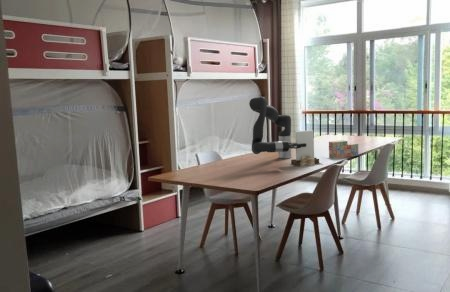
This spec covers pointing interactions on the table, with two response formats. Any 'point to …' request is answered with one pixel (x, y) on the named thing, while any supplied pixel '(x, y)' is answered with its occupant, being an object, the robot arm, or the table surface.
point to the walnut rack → (297, 162)
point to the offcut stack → (307, 161)
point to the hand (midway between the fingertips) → (305, 144)
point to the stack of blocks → (342, 149)
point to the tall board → (306, 138)
